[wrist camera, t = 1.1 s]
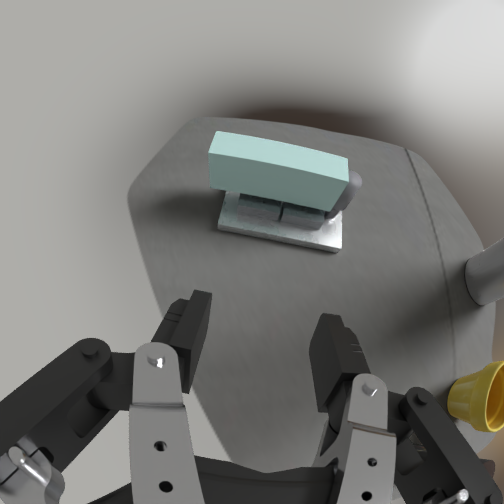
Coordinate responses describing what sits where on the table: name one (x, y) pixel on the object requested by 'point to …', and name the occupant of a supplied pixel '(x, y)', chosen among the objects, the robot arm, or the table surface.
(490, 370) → the plant pot
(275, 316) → the table surface
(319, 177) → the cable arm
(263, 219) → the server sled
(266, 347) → the table surface
